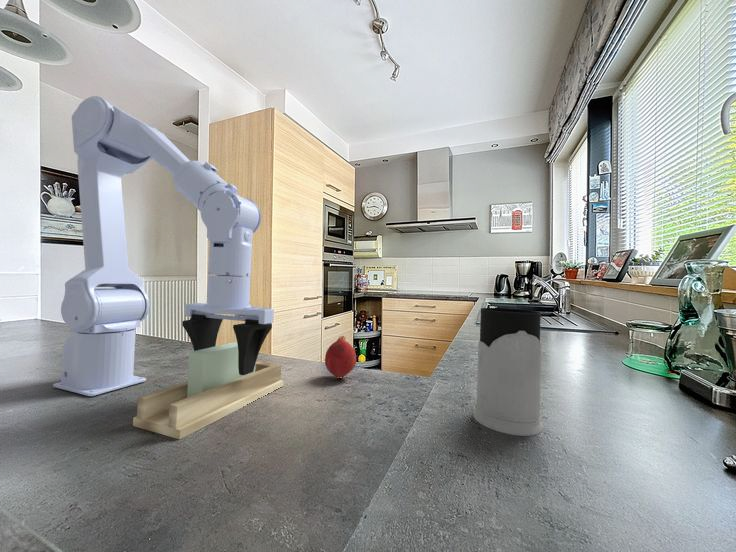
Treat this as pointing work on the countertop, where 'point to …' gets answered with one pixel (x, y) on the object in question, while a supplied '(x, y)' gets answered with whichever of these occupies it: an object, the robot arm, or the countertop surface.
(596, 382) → the countertop surface
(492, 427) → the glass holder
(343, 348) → the onion
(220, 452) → the countertop surface
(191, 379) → the door panel
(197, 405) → the floor track
